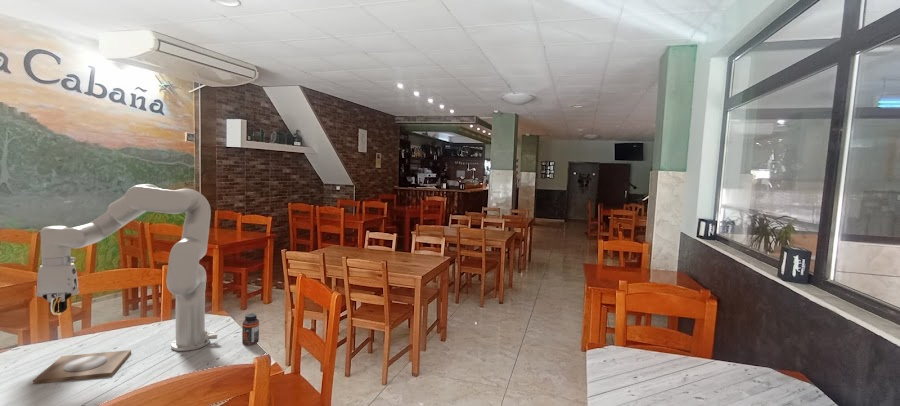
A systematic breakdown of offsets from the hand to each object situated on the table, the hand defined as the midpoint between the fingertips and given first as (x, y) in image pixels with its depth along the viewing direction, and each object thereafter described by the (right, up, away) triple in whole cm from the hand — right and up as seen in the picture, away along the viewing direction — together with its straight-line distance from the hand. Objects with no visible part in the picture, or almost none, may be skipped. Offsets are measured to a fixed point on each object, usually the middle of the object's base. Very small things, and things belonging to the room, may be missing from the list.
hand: (58, 311), depth 150 cm
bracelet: (0, -1, 0) cm, 1 cm away
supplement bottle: (+61, -17, +16) cm, 65 cm away
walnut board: (+17, -17, -9) cm, 25 cm away
